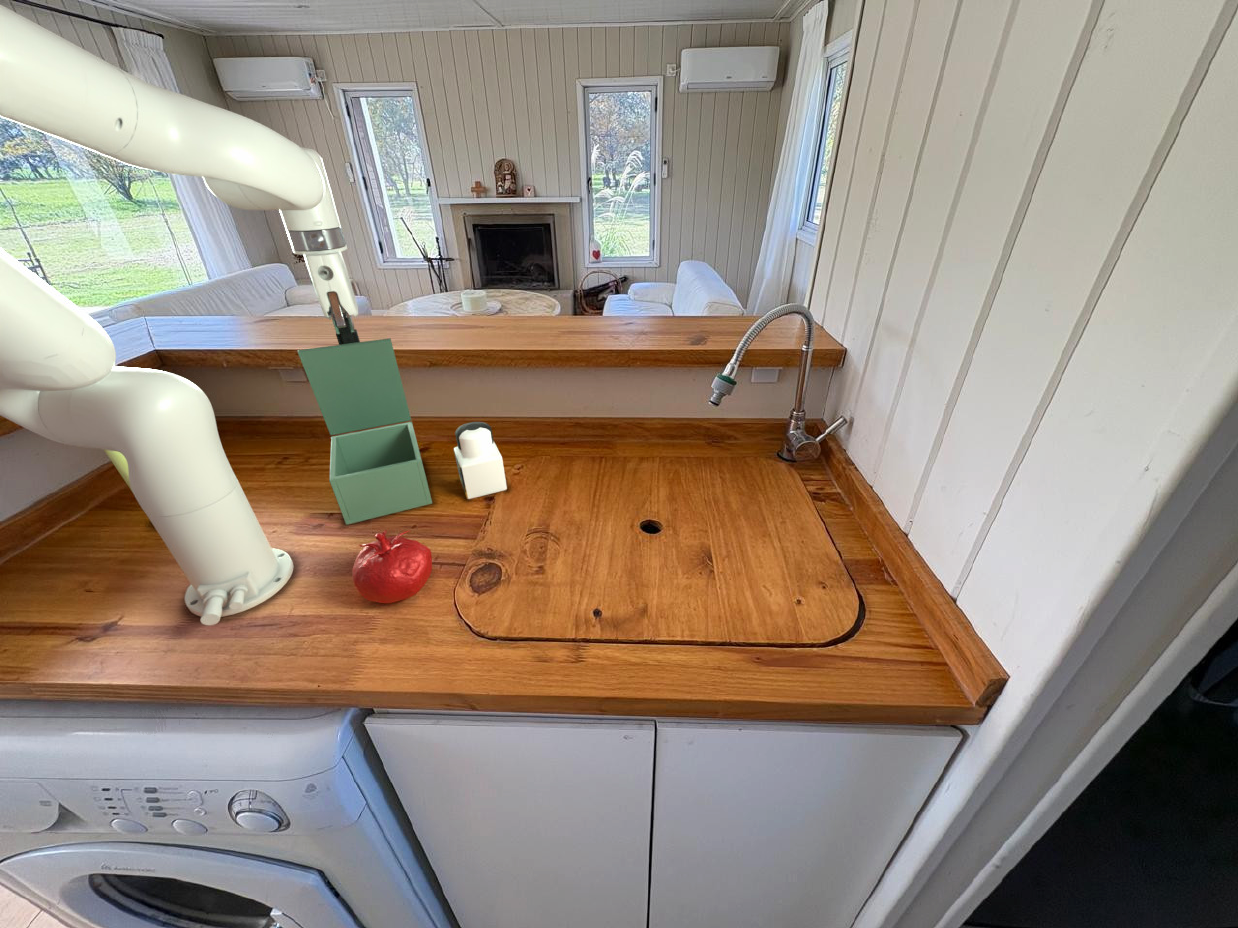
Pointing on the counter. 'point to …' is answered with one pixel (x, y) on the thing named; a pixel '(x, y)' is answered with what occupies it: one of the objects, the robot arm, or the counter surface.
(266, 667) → the counter surface
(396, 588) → the pomegranate
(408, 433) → the bin
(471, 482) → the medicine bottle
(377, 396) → the lid
